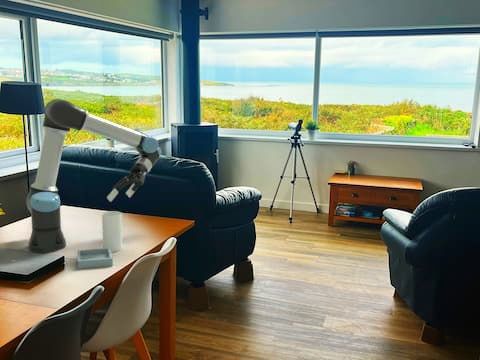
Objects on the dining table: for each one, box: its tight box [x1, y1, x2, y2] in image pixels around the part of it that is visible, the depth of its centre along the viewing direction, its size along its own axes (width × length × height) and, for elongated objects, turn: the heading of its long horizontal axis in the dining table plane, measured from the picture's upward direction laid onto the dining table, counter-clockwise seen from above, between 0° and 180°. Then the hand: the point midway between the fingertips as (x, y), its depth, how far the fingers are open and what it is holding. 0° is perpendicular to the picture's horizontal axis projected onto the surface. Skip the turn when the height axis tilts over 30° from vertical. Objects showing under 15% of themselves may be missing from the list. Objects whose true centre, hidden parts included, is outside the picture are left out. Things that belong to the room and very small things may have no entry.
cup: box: [101, 210, 123, 253], centre depth 203 cm, size 8×8×16 cm
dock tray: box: [77, 247, 114, 269], centre depth 188 cm, size 13×13×3 cm
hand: (118, 197), depth 213 cm, fingers open, 13 cm apart
